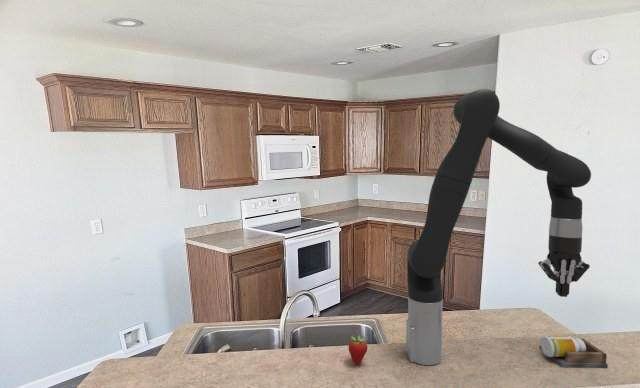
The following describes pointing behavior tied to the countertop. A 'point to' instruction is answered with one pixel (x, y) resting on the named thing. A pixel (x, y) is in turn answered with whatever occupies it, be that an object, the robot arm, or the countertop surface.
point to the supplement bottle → (561, 345)
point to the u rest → (583, 358)
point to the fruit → (357, 349)
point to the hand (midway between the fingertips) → (562, 295)
